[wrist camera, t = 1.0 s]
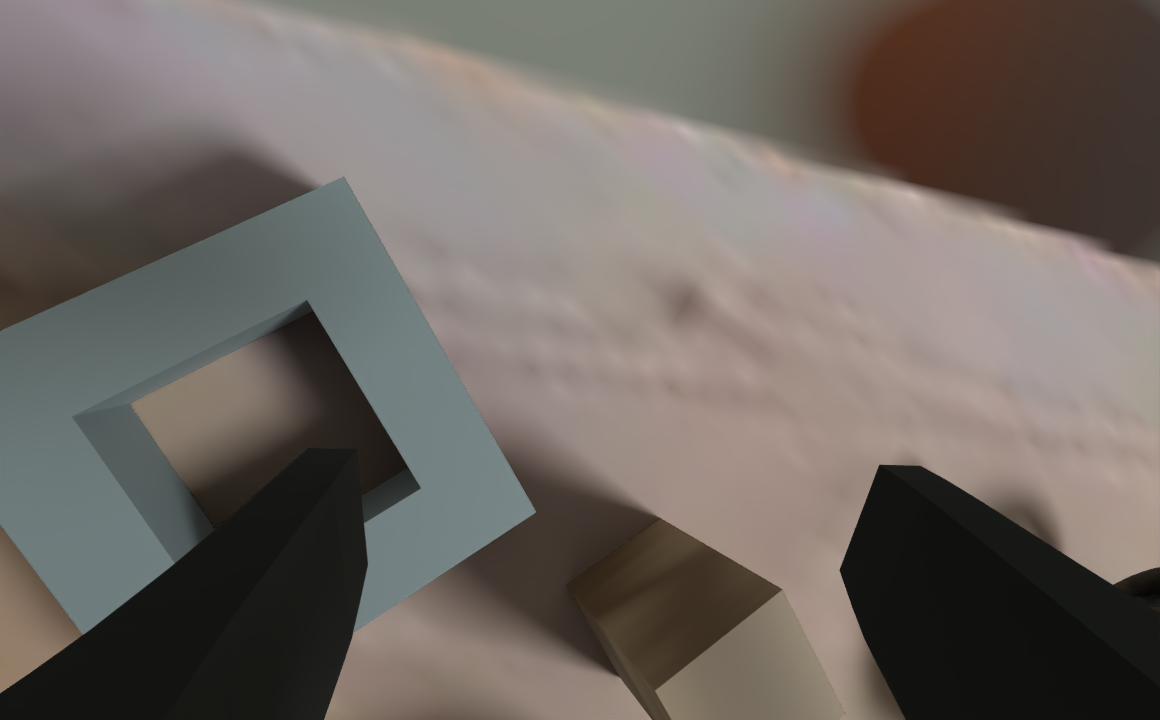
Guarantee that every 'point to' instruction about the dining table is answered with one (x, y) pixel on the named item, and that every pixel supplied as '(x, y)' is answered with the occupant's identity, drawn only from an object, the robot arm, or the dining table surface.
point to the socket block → (200, 336)
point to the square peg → (701, 633)
